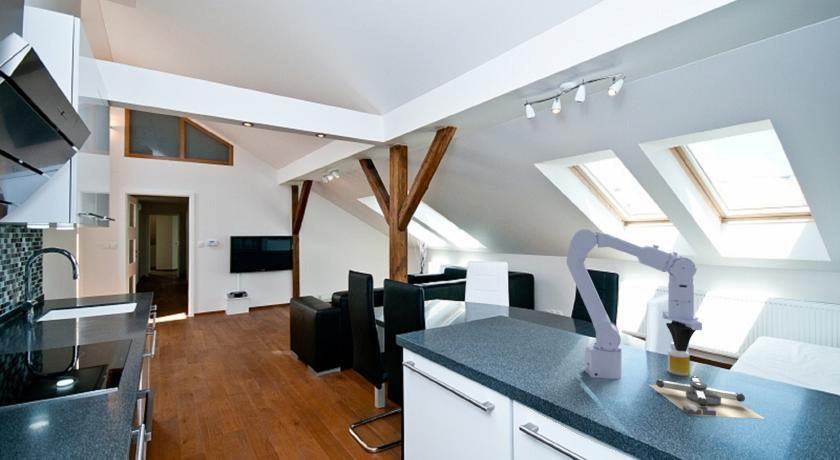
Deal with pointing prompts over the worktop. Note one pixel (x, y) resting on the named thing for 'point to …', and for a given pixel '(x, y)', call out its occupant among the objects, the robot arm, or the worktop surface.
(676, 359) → the supplement bottle
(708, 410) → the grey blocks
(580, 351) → the worktop surface
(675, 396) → the stand plate
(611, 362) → the robot arm
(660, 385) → the cam capstan
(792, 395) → the worktop surface
